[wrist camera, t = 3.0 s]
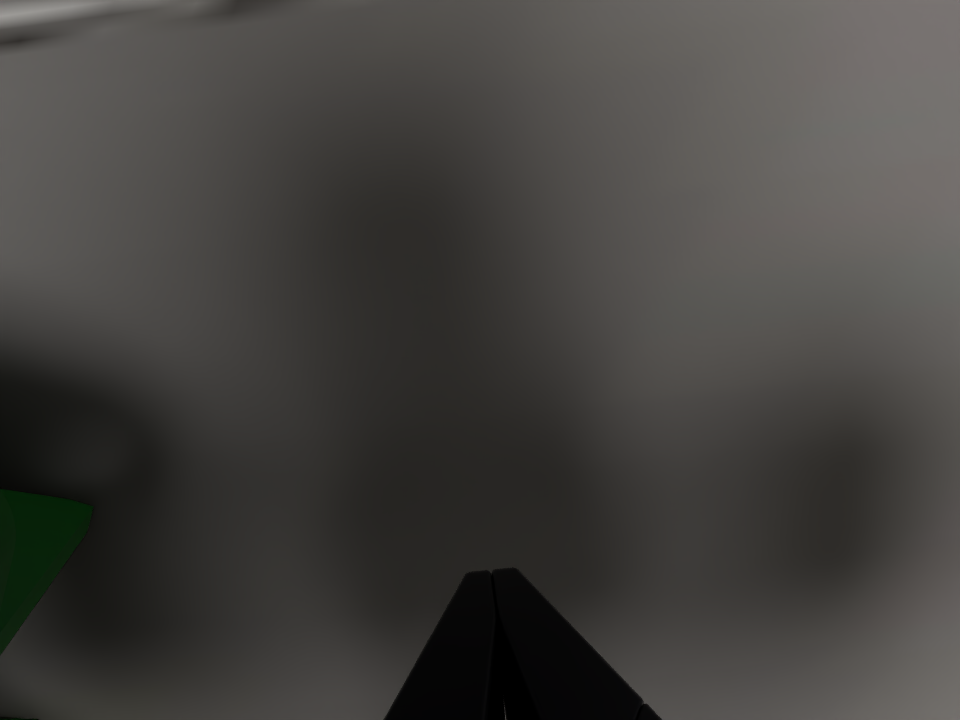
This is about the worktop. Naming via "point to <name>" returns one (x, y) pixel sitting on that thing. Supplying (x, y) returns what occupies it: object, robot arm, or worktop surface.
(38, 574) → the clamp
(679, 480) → the worktop surface
